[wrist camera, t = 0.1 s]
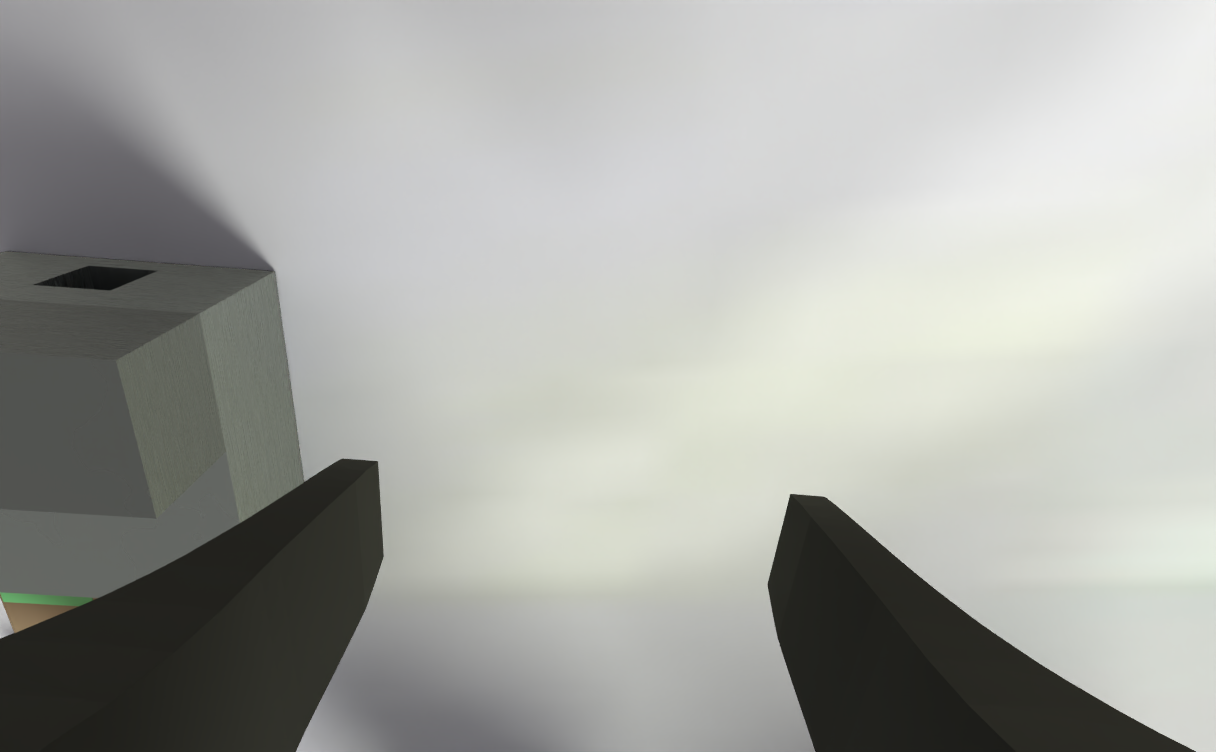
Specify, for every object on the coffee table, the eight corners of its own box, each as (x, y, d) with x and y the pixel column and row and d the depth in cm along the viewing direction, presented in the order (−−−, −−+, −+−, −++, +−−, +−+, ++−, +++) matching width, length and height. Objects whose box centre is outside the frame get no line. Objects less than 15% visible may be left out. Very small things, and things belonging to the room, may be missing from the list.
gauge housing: (310, 526, 24) (200, 689, 17) (86, 512, 23) (-109, 673, 17) (274, 271, 20) (116, 360, 13) (5, 250, 19) (-289, 332, 13)
